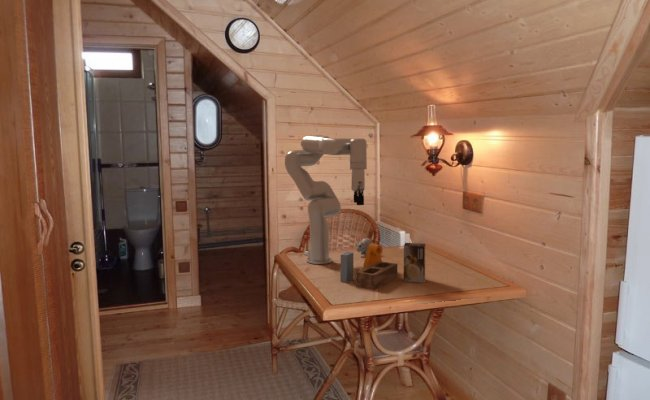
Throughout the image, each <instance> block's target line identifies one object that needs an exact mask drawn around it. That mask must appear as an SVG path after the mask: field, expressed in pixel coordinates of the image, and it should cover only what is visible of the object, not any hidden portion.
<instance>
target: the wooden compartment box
mask: <svg viewBox="0 0 650 400" xmlns="http://www.w3.org/2000/svg"><path fill="white" fill-rule="evenodd" d="M382 261H383V260H382ZM382 261H379V262H376V263H374V264H372V265H370V266H368V267H366V268H364V267H363V269H360V270H358V271H356V273H355V274H356V275H355V280H356V281H355V283H356V284H355V286H356V287H358V288H365V289H369V290H378V289H379V288H381V287H382V286H384V285H386V284H387V283H389V282H391V281H392V280H394V279H396V278H398V263H394V262H387V261H383V262H382Z"/></svg>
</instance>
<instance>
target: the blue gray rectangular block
mask: <svg viewBox="0 0 650 400" xmlns="http://www.w3.org/2000/svg"><path fill="white" fill-rule="evenodd" d="M353 280H354V252H353V251H345V252H343V253H341V254H340V282H341V283H349V282H350V281H353Z"/></svg>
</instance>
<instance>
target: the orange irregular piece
mask: <svg viewBox="0 0 650 400" xmlns="http://www.w3.org/2000/svg"><path fill="white" fill-rule="evenodd" d="M382 253H383V246H382V245H381V244H378V243H374V242H373V243H371V244H370V245H369V246H368V249H367V253H366V254H365V258H364V262H363V269H364V268H366V267H368V266H370V265H372V264H374V263H376V262H379V261H382V262H384V261H383V260H382V256H381V255H382Z"/></svg>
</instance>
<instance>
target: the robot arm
mask: <svg viewBox="0 0 650 400" xmlns="http://www.w3.org/2000/svg"><path fill="white" fill-rule="evenodd" d="M300 147H301V148H302V149H293V150H291V151H290V150H289V152H287V153H286V154H285V156H284V167H285V169H286V172H287V174H288V175H289V176H290V178H291V179H292V180H293V182H294V183H295V185H296V187H297V189H298V191H299V193H300V195H301V196H302V197H303V198H304V200H305V201H310V202H309V203H308V205H307V214H308V219H309V220H308V221H309V251H308V250H307V251H306V250H305V251H304V253H303V256H304V257H305V256H307V258H306V262H307V263H309V264H313V265H326V264H330V263H332V262H333V258H332V257H330V226H329V223H328V221H327V218H329V217H334V216H337V215H339V214H340V213H341V209H342V208H341V202H340V201H339V199H338V197H337V195H336V194H335V192H334V190H333V188H332V187H331V185H330V184H329V183H328V182H326V181H325V180H324V181H323V180H317V181H315V180H314V179H313V178H312V177H311V175H310V173H309V172H308V171H307V170H306V169H304V168H303V167H312V166H314V165H315V166H316V165H317V163H319V161H320V160H321V158H322V157H323V156H324V155H328V156H348V155H349V170H351V185H350V186H351V187H350V188H351V191H352V192H353V203H355V204H356V206H365V195H364V191H365V188H366V187H365V184H366V183H365V182H366V181H365V176H366V175H365V170H367V168H368V167H367V163H368V162H367V159H368V158H367V156H368V155H367V140H366V138H347V137H346V138H344V137H343V138H332V137H331V138H330V137H329V136H327V135H323V134H322V135H320V134H319V135H318V134H317V135H313V134H310V135H306V136H304V137H303V138H302V139H301V141H300Z"/></svg>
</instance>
